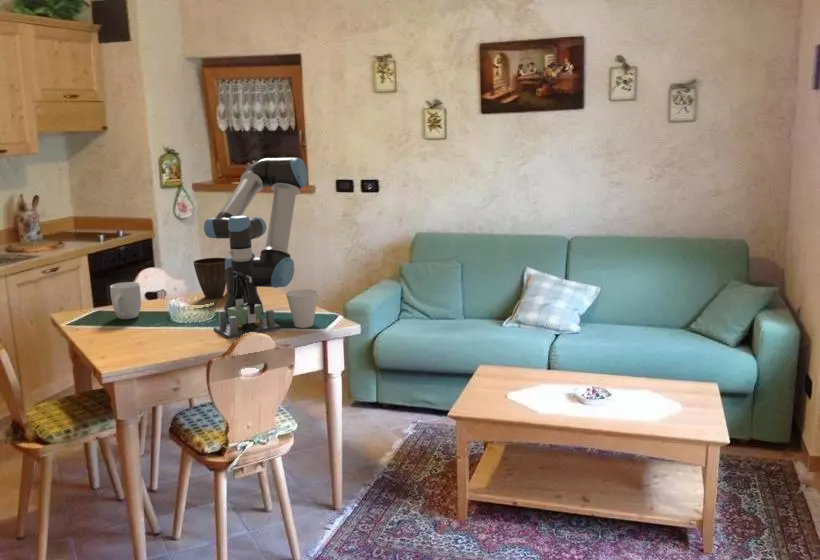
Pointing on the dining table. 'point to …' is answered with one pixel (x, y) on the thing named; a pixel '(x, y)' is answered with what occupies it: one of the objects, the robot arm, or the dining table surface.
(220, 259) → the plant pot
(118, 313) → the mug
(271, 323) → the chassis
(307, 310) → the cup
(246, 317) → the block
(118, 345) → the dining table surface
